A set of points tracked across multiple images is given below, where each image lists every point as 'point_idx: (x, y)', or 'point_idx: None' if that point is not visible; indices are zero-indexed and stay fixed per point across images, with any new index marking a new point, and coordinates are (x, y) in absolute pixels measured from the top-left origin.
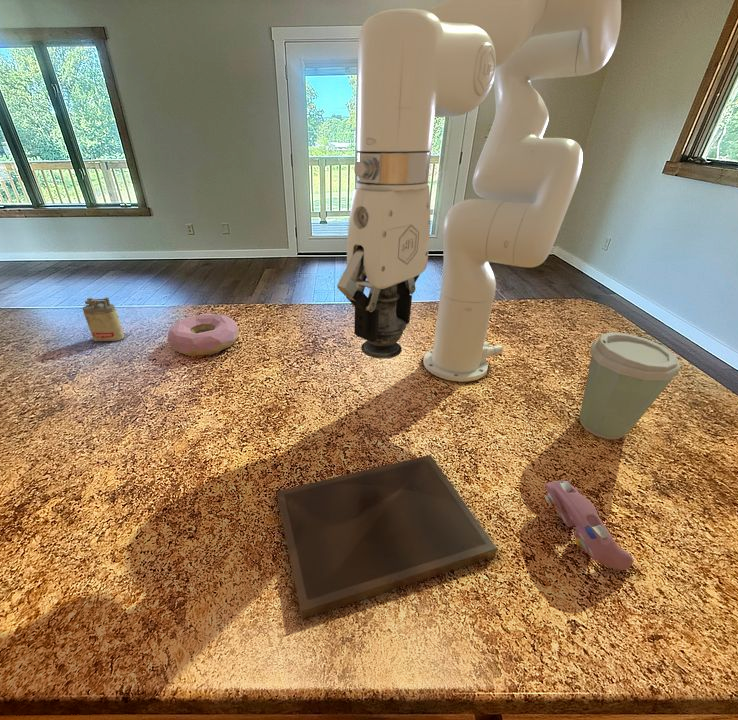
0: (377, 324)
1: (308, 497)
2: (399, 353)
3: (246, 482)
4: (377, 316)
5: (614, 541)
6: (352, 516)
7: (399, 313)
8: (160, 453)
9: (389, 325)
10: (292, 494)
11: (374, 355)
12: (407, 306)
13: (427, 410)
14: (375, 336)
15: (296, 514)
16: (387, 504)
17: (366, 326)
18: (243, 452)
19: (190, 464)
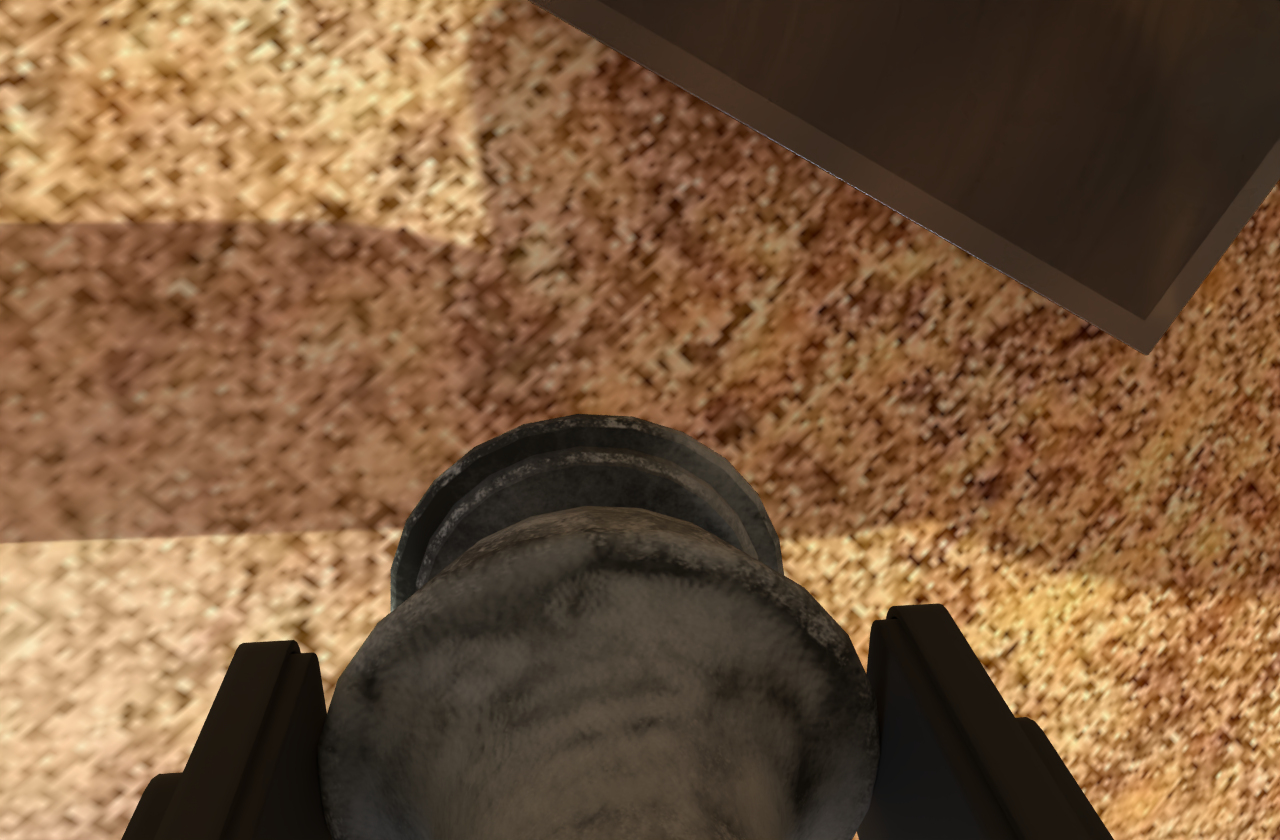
0: (973, 733)
1: (1099, 232)
2: (550, 421)
3: (1127, 494)
4: (1037, 820)
5: None
6: (1068, 3)
7: (302, 815)
8: (1206, 815)
9: (701, 680)
10: (1123, 295)
11: (763, 546)
12: (242, 829)
13: (80, 238)
14: (950, 632)
15: (1197, 200)
16: None
17: (1067, 783)
18: (1016, 633)
19: (1183, 704)
